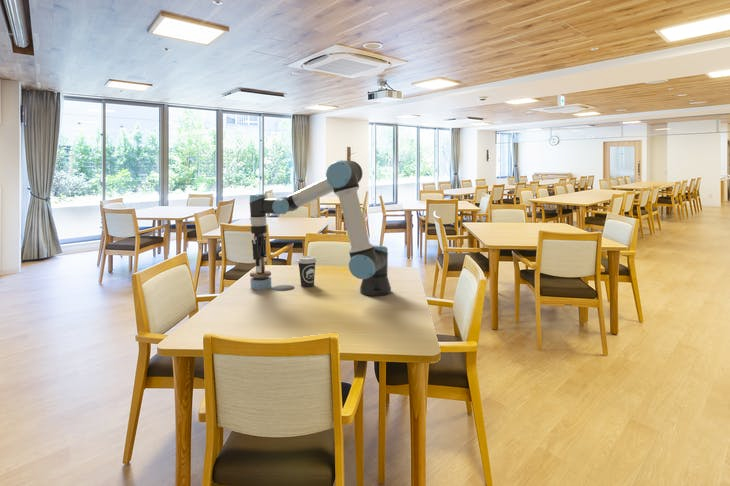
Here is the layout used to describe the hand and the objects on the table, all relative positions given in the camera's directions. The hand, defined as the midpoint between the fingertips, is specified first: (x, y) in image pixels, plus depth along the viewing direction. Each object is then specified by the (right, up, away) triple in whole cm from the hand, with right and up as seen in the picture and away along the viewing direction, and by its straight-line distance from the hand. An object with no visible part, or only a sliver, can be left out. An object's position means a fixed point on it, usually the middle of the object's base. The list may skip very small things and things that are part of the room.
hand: (260, 271), depth 236 cm
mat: (+12, -9, 0) cm, 15 cm away
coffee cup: (+23, -8, +5) cm, 25 cm away
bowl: (0, -9, +1) cm, 9 cm away
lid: (0, -2, 0) cm, 2 cm away
